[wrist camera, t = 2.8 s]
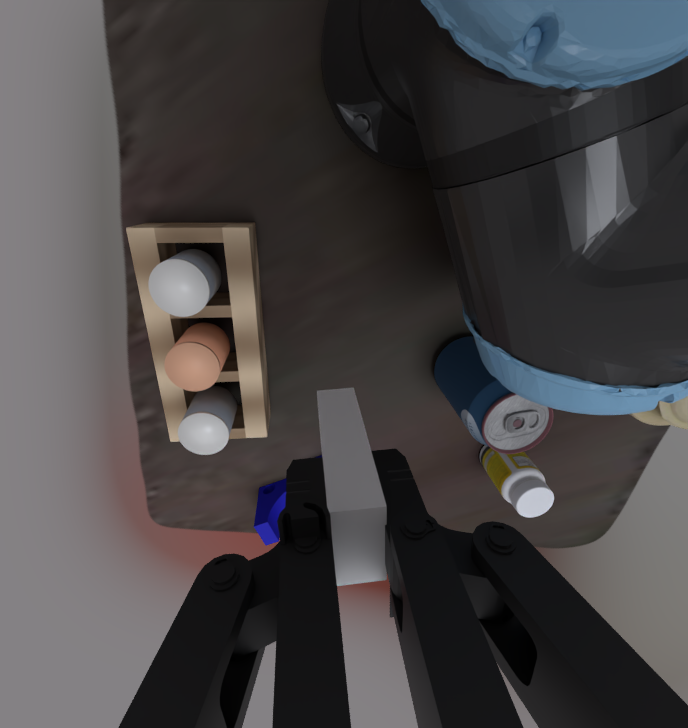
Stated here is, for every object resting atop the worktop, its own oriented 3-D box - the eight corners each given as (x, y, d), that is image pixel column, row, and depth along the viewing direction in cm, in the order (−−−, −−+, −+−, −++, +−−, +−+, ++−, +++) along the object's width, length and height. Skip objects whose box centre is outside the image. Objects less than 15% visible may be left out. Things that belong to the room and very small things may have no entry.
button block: (147, 222, 34) (125, 227, 29) (255, 222, 34) (248, 227, 30) (183, 416, 41) (170, 441, 37) (270, 412, 42) (267, 436, 38)
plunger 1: (165, 249, 31) (143, 259, 26) (218, 248, 31) (204, 259, 27) (174, 299, 32) (154, 317, 28) (224, 298, 33) (212, 316, 28)
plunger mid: (178, 323, 33) (159, 343, 29) (227, 321, 33) (216, 342, 29) (186, 366, 35) (169, 392, 30) (232, 365, 35) (222, 390, 31)
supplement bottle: (485, 473, 49) (519, 527, 41) (472, 447, 47) (506, 498, 39) (521, 457, 48) (563, 508, 40) (510, 429, 46) (551, 477, 39)
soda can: (431, 395, 43) (474, 466, 32) (429, 337, 40) (476, 393, 29) (492, 386, 44) (556, 453, 33) (495, 327, 41) (566, 379, 30)
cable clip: (351, 443, 45) (358, 479, 40) (363, 472, 47) (371, 509, 42) (254, 477, 46) (247, 516, 40) (269, 504, 48) (265, 545, 42)
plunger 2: (189, 386, 36) (173, 414, 31) (235, 385, 36) (225, 412, 32) (196, 424, 37) (182, 456, 33) (239, 422, 38) (231, 453, 33)
